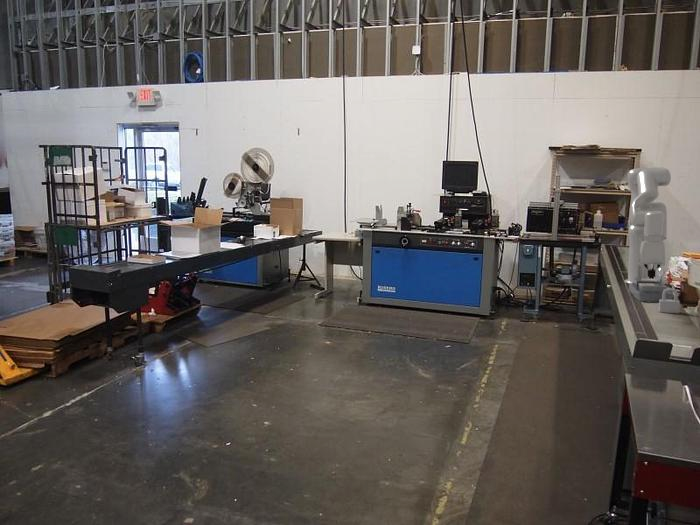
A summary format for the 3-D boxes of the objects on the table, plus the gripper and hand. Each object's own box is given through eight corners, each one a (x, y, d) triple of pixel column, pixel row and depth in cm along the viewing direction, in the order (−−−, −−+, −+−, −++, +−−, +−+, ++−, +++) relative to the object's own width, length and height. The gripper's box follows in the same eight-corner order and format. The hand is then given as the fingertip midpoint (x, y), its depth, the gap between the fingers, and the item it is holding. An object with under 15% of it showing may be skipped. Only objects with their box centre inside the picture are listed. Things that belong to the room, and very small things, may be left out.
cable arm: (657, 288, 266) (658, 267, 265) (665, 288, 265) (666, 268, 263) (651, 298, 245) (652, 276, 243) (659, 298, 243) (660, 276, 242)
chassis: (628, 290, 267) (629, 276, 266) (658, 291, 263) (659, 277, 262) (639, 301, 243) (639, 286, 242) (671, 302, 238) (672, 287, 237)
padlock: (659, 312, 222) (660, 288, 221) (658, 310, 226) (659, 287, 224) (679, 313, 219) (680, 289, 217) (678, 311, 222) (679, 288, 221)
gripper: (669, 238, 248) (667, 277, 250) (633, 238, 253) (631, 276, 255) (673, 239, 241) (671, 280, 243) (636, 239, 246) (634, 279, 248)
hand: (651, 278), depth 249 cm, fingers closed
